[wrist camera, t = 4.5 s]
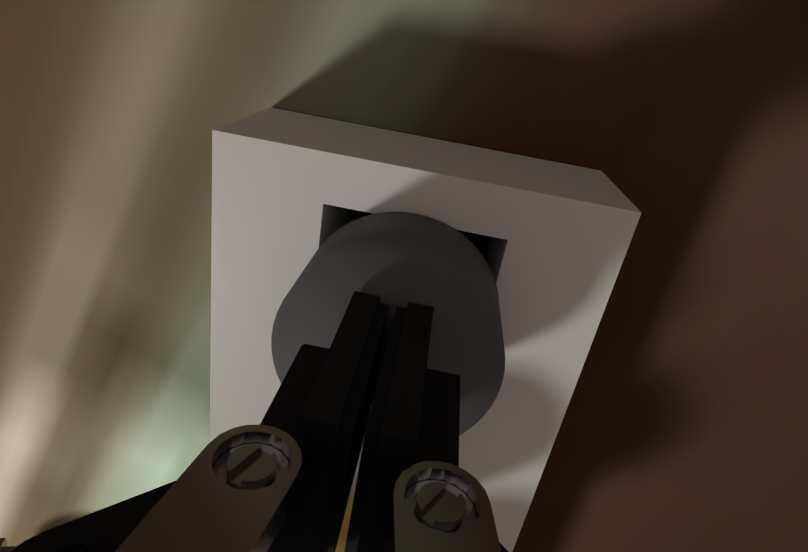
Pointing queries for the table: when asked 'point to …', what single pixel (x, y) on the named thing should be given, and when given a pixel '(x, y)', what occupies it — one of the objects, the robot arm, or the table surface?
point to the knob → (403, 299)
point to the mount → (439, 199)
